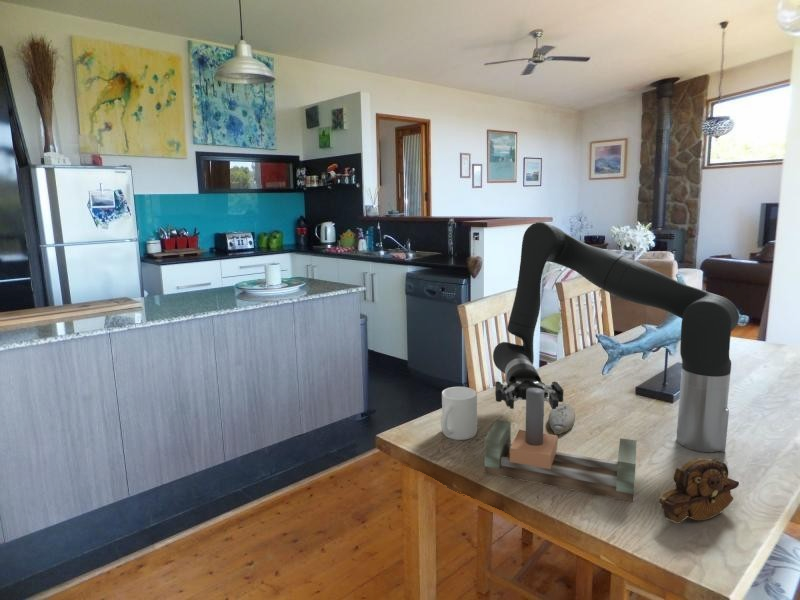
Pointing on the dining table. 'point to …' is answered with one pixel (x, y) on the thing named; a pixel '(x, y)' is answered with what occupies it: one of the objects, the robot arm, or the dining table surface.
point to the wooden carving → (698, 491)
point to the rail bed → (565, 467)
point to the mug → (459, 413)
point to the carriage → (534, 435)
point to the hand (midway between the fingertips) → (533, 404)
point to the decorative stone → (562, 418)
